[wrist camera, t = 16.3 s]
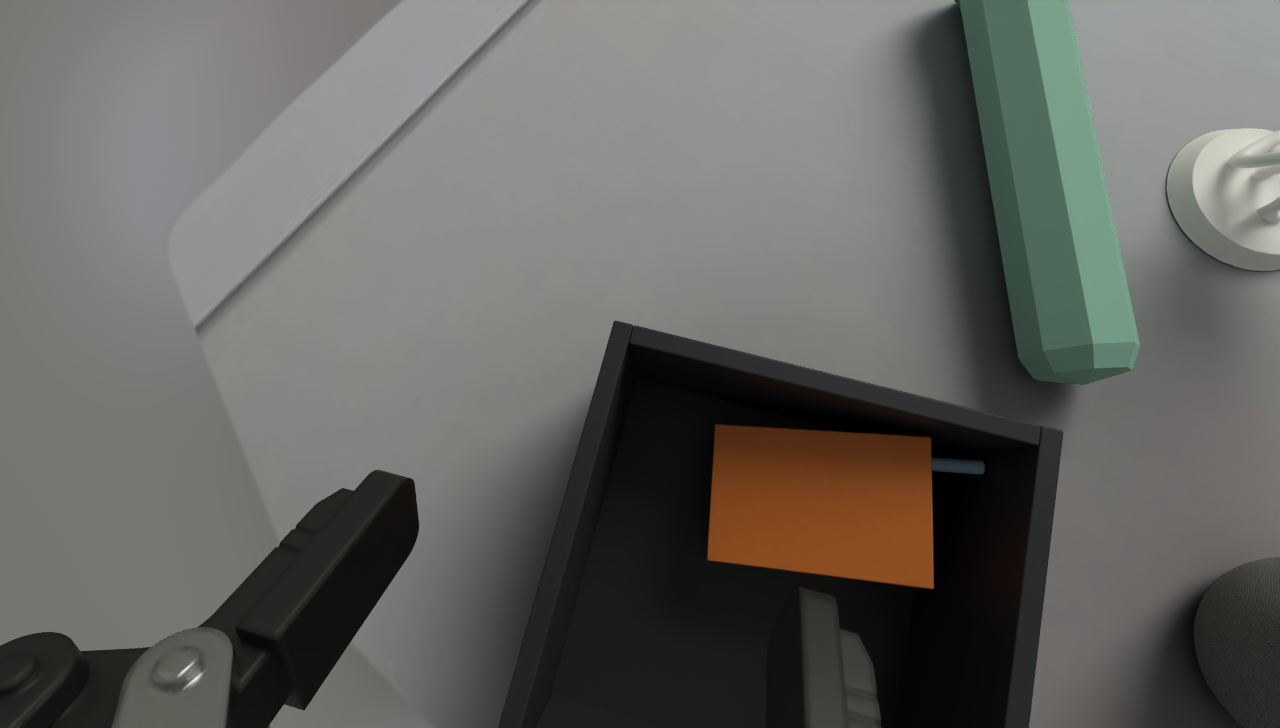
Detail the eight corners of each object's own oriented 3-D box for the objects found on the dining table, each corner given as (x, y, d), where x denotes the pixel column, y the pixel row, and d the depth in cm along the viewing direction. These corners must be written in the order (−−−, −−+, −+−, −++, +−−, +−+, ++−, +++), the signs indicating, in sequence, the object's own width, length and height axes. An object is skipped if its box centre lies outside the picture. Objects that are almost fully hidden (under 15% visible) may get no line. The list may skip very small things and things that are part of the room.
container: (1188, 369, 24) (1081, -110, 29) (1025, 382, 26) (951, -62, 31) (1135, 386, 29) (1052, -21, 34) (1003, 396, 31) (943, 14, 36)
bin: (534, 698, 28) (478, 796, 19) (627, 364, 31) (614, 319, 22) (889, 809, 26) (1001, 970, 18) (946, 445, 30) (1064, 431, 21)
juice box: (706, 560, 24) (1004, 598, 21) (714, 423, 26) (997, 440, 22) (718, 551, 28) (973, 582, 25) (725, 432, 29) (969, 447, 26)
